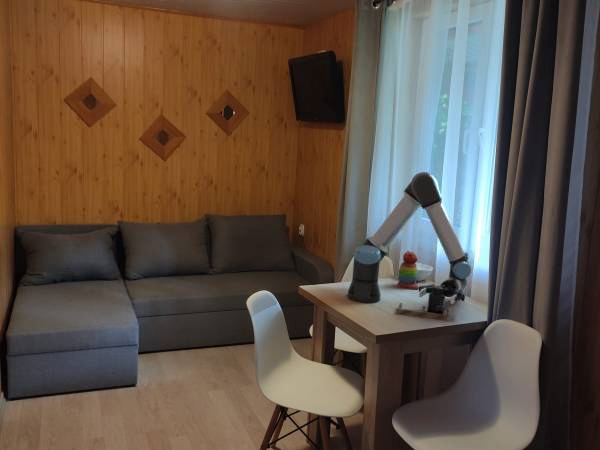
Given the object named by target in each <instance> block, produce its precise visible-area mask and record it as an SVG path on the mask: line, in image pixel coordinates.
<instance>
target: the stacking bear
mask: <svg viewBox="0 0 600 450" xmlns="http://www.w3.org/2000/svg"><path fill="white" fill-rule="evenodd" d="M402 258H403V262H402V263H401V264H400V266H399V269H398V276H397V277H398V282H397V286H398V287H399V288H402V289H408V290H414V291H415V290H419V285H417V282H416V279H417V267H416V264H415V263H418V260H419V257H417V255H416V253H415V252H413V251H410V250H407V251H406V252H404V254H403V255H402Z"/></svg>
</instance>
